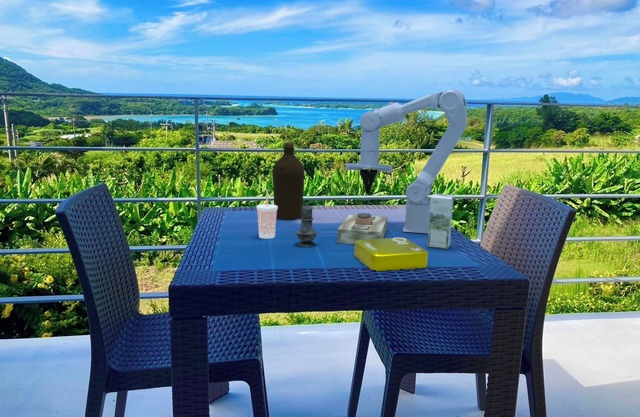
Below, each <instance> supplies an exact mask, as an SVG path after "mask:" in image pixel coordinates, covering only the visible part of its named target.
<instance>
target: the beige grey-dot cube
mask: <svg viewBox="0 0 640 417" xmlns="http://www.w3.org/2000/svg"><path fill="white" fill-rule="evenodd" d="M356 215H357V217H356V221H355V224H360V225H372V216H373V215H372V214H371V213H367V212H360V213H359V212H358V213H356Z"/></svg>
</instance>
